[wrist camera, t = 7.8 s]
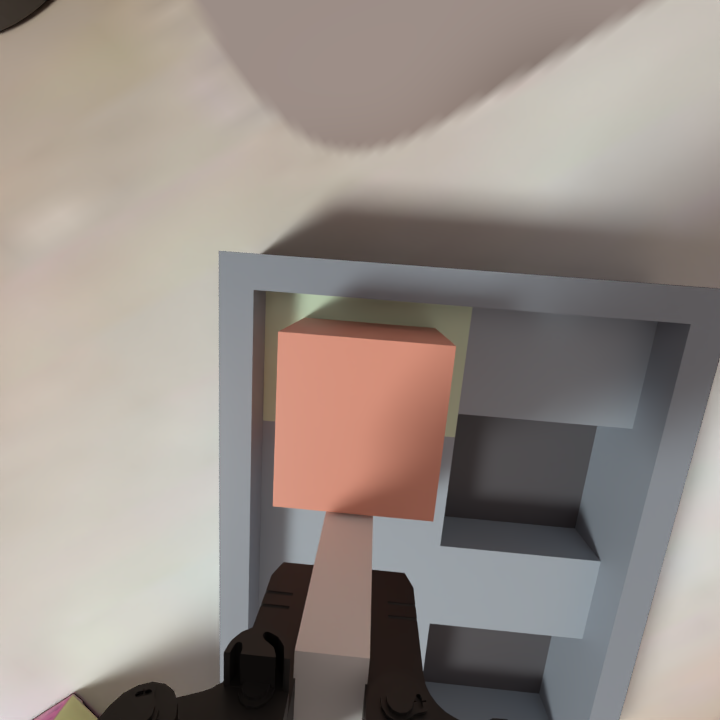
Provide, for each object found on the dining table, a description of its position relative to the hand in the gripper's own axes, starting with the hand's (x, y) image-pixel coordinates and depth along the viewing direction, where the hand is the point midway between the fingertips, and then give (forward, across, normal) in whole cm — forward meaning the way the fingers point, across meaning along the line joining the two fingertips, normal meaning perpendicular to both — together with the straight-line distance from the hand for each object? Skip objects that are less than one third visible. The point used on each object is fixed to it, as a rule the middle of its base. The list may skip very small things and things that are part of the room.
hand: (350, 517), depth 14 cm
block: (+2, 0, +4) cm, 5 cm away
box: (+5, +3, -3) cm, 7 cm away
